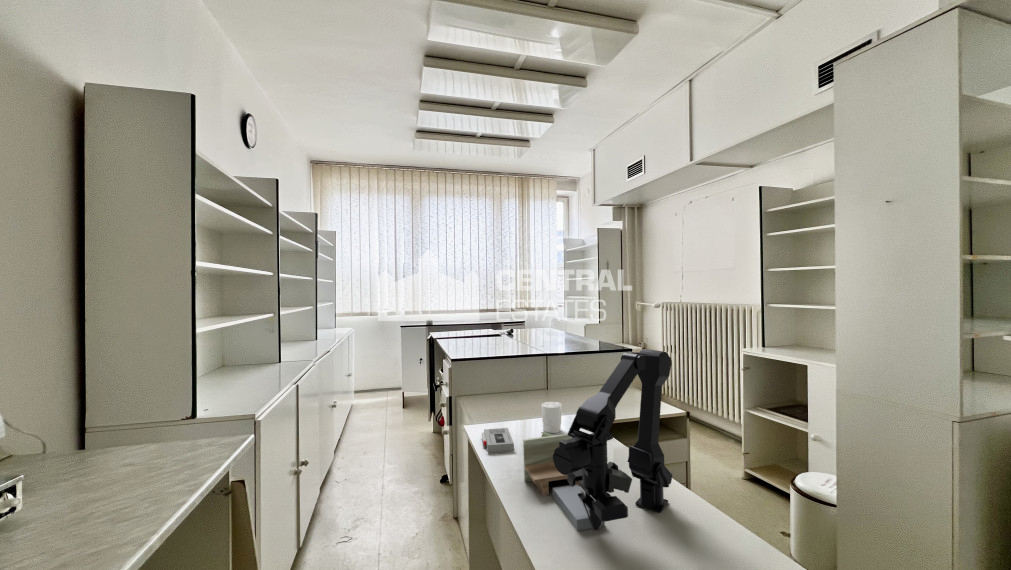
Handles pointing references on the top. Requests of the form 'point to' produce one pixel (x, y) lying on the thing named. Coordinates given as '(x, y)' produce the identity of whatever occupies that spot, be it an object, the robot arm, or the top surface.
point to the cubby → (542, 461)
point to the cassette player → (498, 440)
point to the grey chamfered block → (572, 506)
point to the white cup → (551, 416)
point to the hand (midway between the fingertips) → (596, 529)
